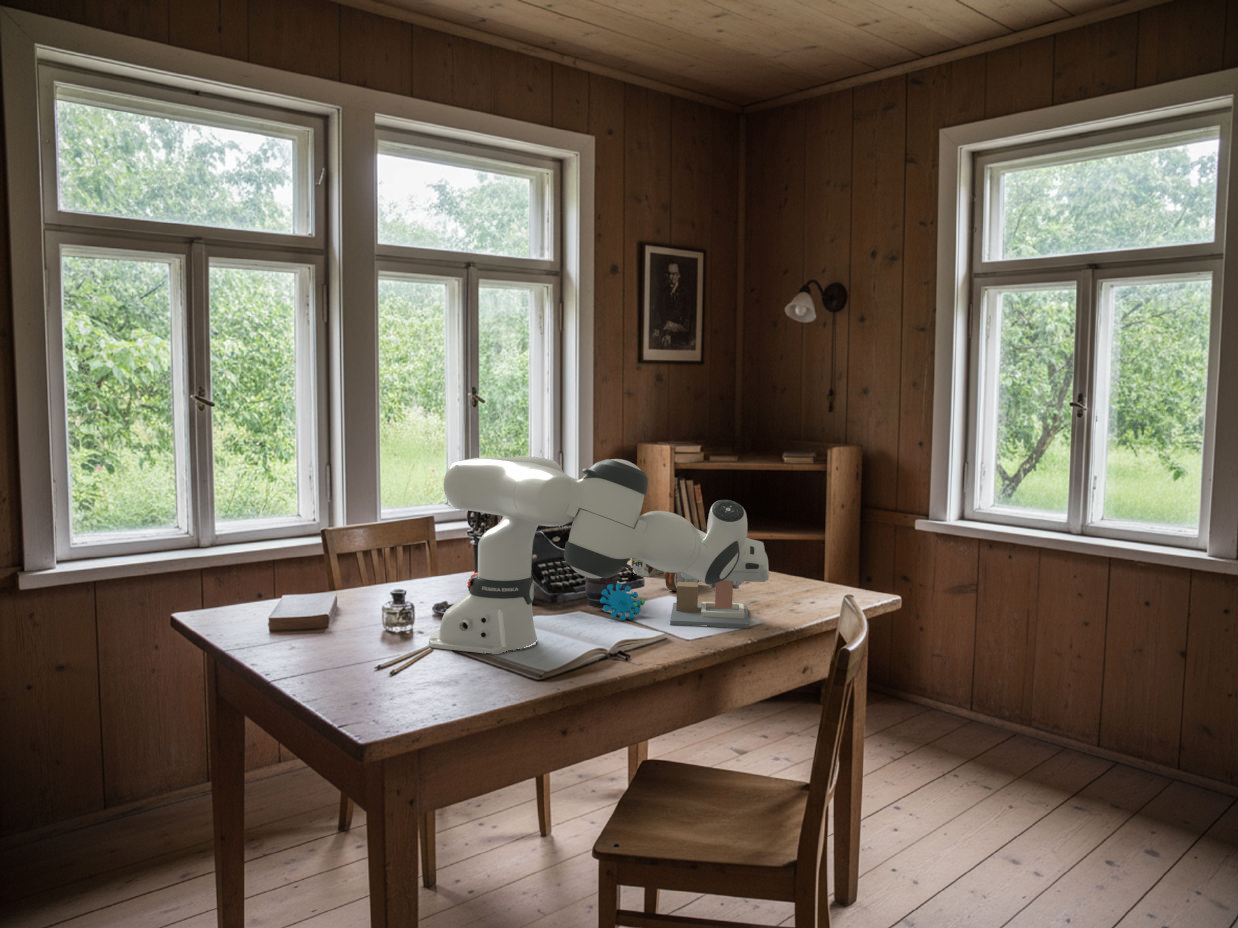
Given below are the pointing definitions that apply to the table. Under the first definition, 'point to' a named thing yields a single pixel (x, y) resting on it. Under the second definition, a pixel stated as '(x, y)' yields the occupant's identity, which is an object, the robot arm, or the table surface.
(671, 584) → the tin
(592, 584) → the camera lens
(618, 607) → the gear
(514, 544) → the robot arm
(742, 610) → the base plate
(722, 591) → the pillar block
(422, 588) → the table surface
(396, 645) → the table surface
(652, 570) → the coffee box
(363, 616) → the table surface
